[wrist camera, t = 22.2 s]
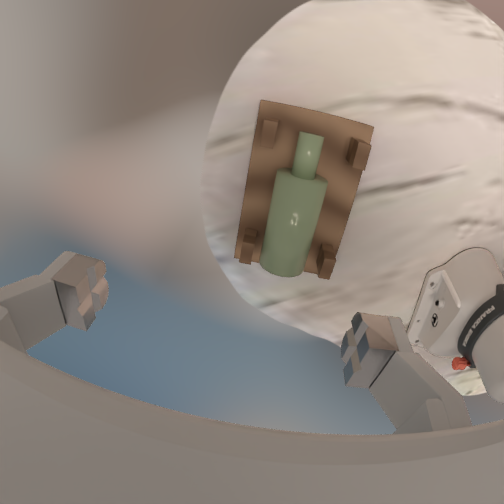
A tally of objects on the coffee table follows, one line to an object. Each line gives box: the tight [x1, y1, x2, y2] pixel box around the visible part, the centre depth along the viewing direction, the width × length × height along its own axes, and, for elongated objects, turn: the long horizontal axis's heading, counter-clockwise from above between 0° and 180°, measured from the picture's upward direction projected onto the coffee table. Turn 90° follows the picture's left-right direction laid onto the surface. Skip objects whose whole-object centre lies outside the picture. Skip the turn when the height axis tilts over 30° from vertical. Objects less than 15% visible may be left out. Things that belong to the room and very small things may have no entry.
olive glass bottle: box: [259, 131, 328, 277], centre depth 35 cm, size 6×6×17 cm
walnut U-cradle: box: [234, 100, 374, 280], centre depth 37 cm, size 22×14×5 cm, turn 170°
